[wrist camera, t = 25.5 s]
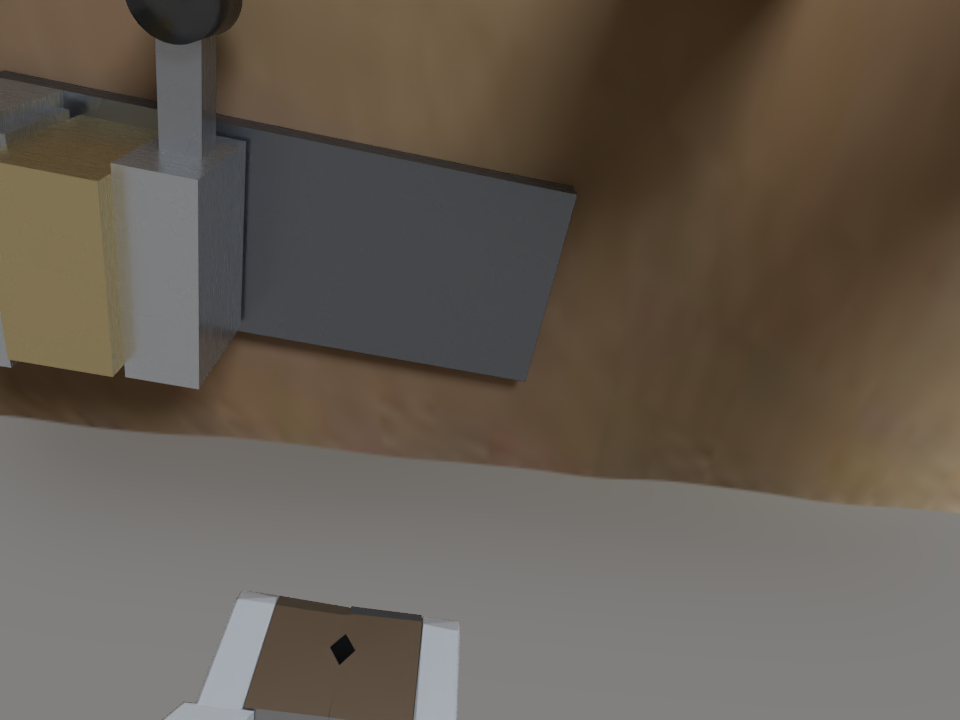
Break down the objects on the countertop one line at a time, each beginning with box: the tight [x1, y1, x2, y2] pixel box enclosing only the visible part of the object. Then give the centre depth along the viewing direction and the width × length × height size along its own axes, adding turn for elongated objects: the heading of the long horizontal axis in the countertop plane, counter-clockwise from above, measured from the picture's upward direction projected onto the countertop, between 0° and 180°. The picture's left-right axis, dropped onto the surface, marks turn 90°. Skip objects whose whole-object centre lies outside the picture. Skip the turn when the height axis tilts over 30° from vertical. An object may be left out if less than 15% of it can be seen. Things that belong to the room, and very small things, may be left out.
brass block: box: [0, 115, 158, 377], centre depth 28 cm, size 4×8×7 cm, turn 169°
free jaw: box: [110, 0, 246, 389], centre depth 27 cm, size 3×16×6 cm, turn 169°
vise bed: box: [0, 71, 577, 382], centre depth 30 cm, size 25×10×7 cm, turn 79°
